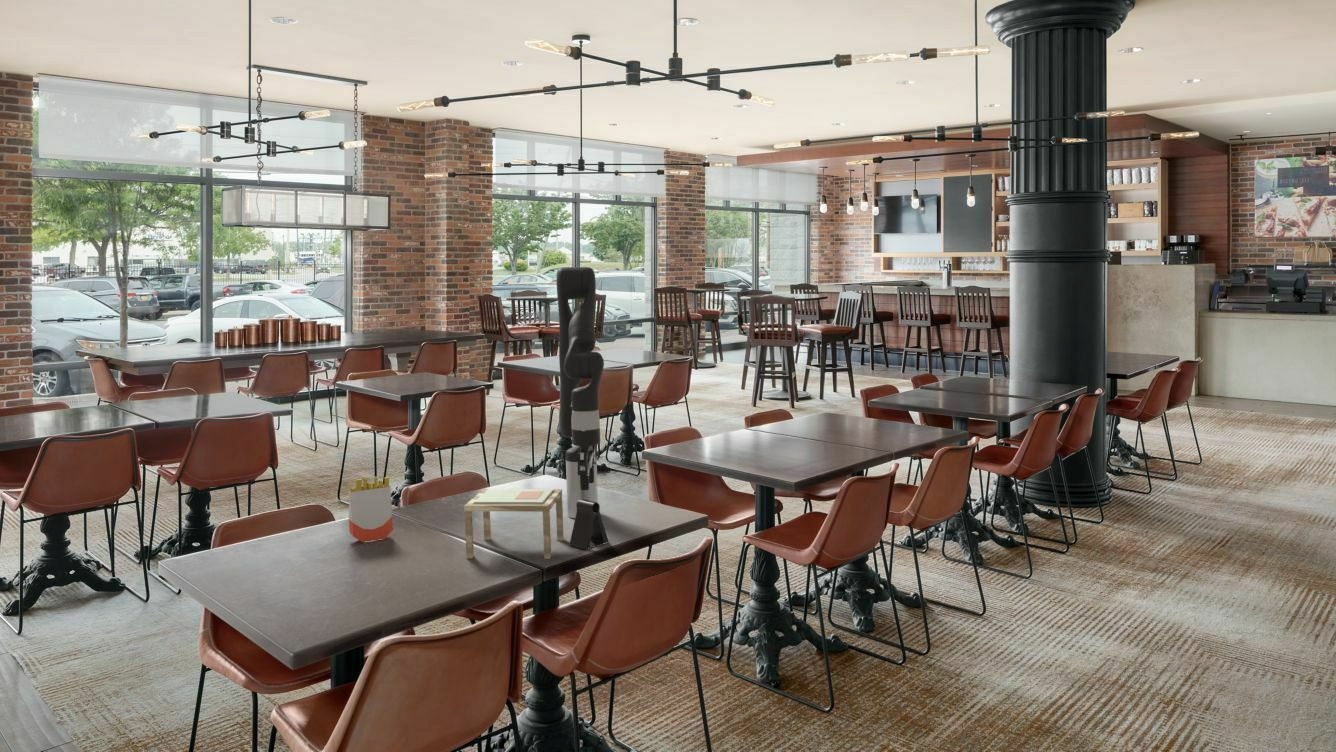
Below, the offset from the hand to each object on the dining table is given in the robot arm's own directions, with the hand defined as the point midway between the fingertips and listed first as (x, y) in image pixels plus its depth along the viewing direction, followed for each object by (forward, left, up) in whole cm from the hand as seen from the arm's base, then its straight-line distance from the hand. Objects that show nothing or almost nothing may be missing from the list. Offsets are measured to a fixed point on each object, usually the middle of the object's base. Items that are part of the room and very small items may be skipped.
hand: (587, 486), depth 253 cm
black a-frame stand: (0, 0, -16) cm, 16 cm away
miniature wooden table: (+4, -19, -16) cm, 25 cm away
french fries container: (-3, -62, -16) cm, 64 cm away
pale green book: (+4, -19, -3) cm, 20 cm away
